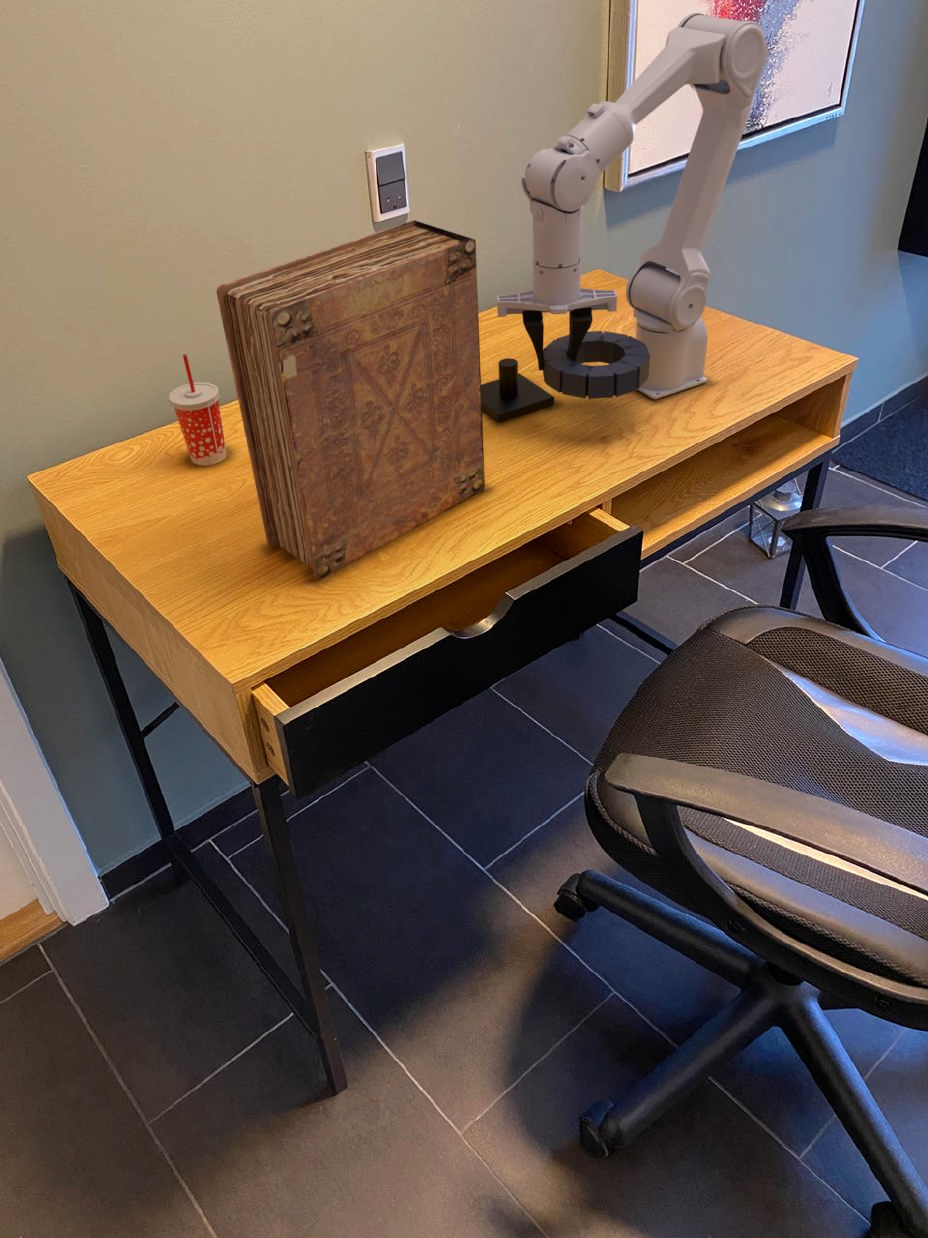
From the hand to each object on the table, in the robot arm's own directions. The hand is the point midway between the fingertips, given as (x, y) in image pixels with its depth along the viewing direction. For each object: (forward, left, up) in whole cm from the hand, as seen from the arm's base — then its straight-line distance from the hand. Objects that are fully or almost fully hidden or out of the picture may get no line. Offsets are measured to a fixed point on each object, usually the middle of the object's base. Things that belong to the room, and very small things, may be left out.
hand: (556, 366), depth 127 cm
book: (+30, +8, -8) cm, 32 cm away
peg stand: (+2, -9, -8) cm, 12 cm away
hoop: (-4, +3, -1) cm, 5 cm away
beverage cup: (+42, -18, -8) cm, 46 cm away
